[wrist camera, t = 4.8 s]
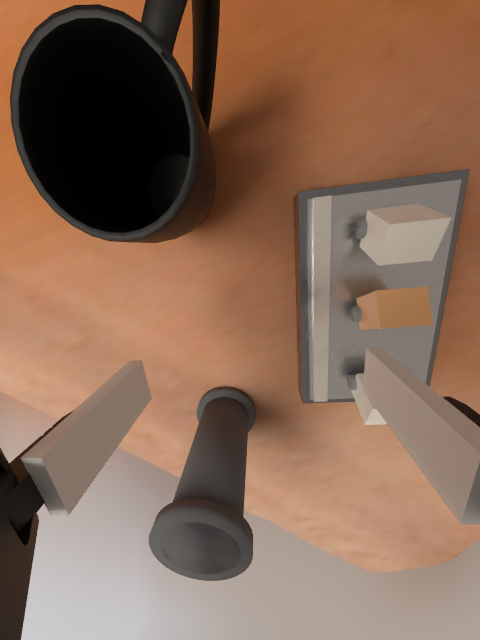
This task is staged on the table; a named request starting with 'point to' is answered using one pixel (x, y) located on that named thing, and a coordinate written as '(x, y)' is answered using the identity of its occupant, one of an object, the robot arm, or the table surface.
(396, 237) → the paddle
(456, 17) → the table surface
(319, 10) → the table surface
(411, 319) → the paddle mid
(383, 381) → the robot arm
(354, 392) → the paddle
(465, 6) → the table surface
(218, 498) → the dark grey flanged cylinder
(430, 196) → the breaker strip
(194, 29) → the mug
